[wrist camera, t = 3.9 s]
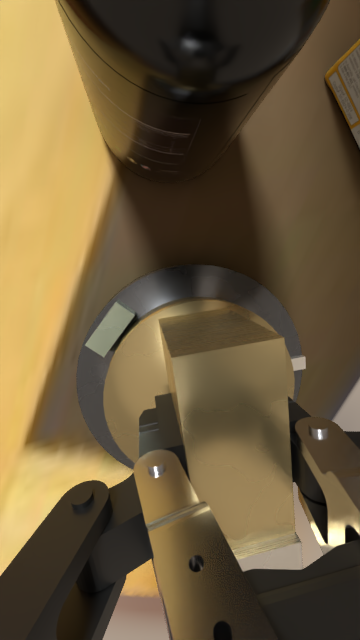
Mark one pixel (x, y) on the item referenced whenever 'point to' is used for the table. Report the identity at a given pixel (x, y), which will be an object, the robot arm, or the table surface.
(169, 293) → the base
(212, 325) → the knob
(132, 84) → the supplement bottle
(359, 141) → the crayon box
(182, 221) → the table surface
